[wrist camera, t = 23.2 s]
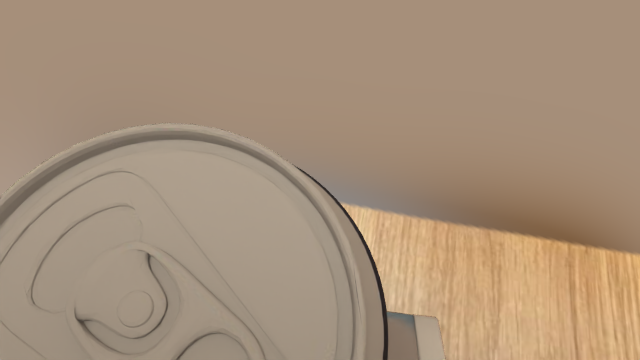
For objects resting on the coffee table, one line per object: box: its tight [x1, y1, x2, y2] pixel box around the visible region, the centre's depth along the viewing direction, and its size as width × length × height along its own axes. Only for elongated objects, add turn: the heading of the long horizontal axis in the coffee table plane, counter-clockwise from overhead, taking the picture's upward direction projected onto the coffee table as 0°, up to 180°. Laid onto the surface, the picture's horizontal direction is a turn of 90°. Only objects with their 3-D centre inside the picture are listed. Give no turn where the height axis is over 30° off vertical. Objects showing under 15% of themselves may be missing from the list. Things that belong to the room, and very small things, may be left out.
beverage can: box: [0, 123, 388, 360], centre depth 11 cm, size 6×6×12 cm
